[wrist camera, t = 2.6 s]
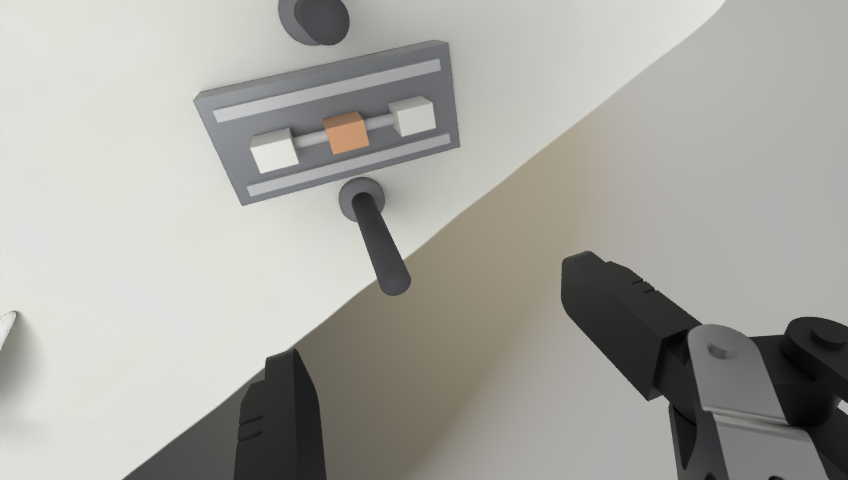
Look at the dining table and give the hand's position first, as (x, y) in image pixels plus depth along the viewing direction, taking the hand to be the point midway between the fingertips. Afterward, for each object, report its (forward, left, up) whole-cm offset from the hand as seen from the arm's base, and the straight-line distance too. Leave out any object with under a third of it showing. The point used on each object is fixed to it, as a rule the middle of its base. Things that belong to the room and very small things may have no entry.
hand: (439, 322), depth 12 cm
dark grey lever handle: (+7, +3, -26) cm, 27 cm away
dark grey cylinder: (-7, -2, -26) cm, 27 cm away
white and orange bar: (0, 0, -22) cm, 22 cm away
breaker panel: (0, 0, -26) cm, 26 cm away
